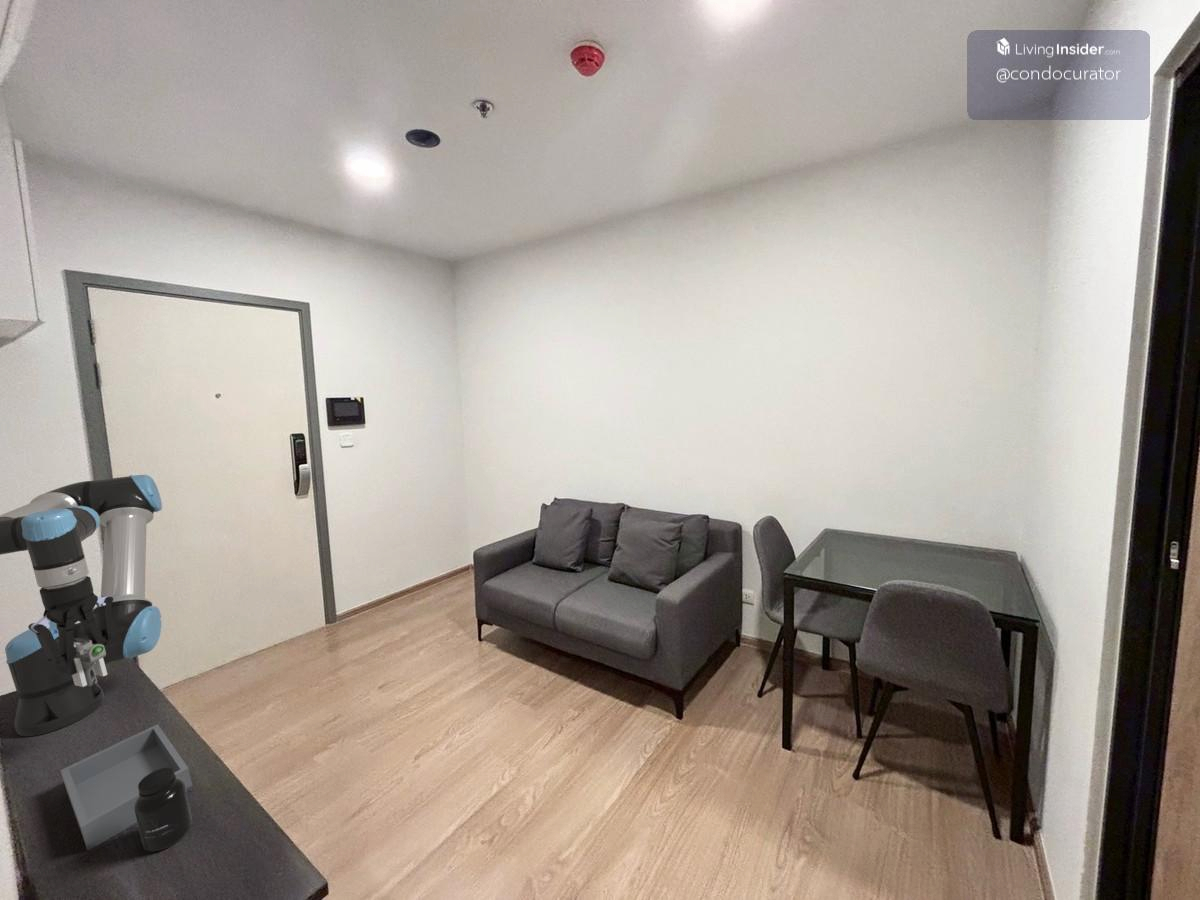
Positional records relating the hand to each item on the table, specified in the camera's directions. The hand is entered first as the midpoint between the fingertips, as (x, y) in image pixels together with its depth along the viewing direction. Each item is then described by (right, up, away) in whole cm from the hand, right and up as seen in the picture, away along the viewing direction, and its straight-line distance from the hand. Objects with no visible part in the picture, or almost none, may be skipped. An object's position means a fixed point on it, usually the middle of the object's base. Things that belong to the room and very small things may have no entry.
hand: (91, 679), depth 110 cm
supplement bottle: (+36, -19, -21) cm, 45 cm away
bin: (+19, -17, -11) cm, 28 cm away
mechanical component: (0, -1, 0) cm, 1 cm away
